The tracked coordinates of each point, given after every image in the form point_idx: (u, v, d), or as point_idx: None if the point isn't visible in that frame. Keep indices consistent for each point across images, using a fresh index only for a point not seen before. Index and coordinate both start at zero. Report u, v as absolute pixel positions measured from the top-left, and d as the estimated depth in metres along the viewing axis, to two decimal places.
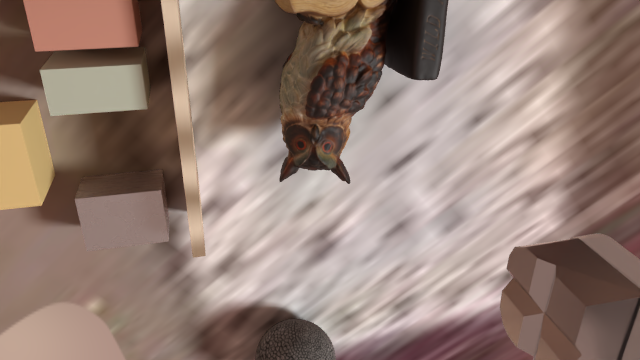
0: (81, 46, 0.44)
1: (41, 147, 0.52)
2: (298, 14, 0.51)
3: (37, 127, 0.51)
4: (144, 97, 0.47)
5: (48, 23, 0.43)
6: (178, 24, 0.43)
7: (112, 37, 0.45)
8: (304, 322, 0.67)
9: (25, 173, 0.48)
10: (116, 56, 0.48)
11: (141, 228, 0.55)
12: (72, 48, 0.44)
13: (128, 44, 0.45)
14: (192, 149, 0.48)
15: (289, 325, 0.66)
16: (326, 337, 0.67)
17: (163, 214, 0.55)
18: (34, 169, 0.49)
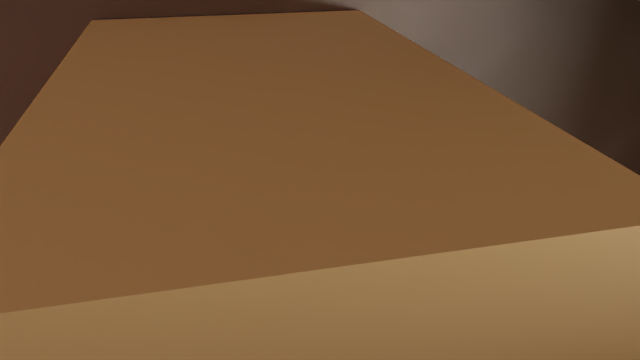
0: None
1: None
2: None
3: None
4: None
5: None
6: None
7: None
8: None
9: None
10: None
11: None
12: None
13: None
14: None
15: None
16: None
17: None
18: None
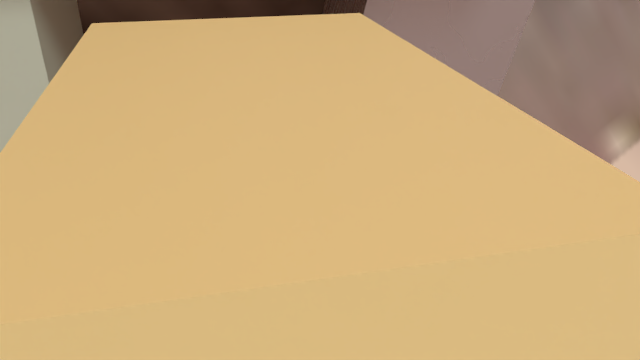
0: None
1: None
2: None
3: None
4: None
5: None
6: None
7: None
8: None
9: None
10: None
11: (468, 41, 0.19)
12: None
13: None
14: None
15: None
16: None
17: None
18: None
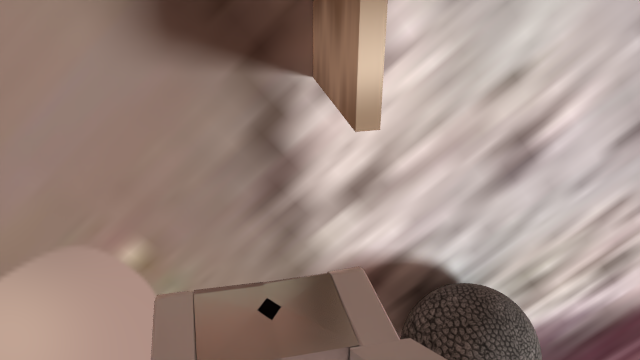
0: None
1: None
2: None
3: None
4: None
5: None
6: None
7: None
8: (485, 287, 0.40)
9: None
10: None
11: None
12: None
13: None
14: None
15: (465, 292, 0.39)
16: (524, 313, 0.39)
17: None
18: None
